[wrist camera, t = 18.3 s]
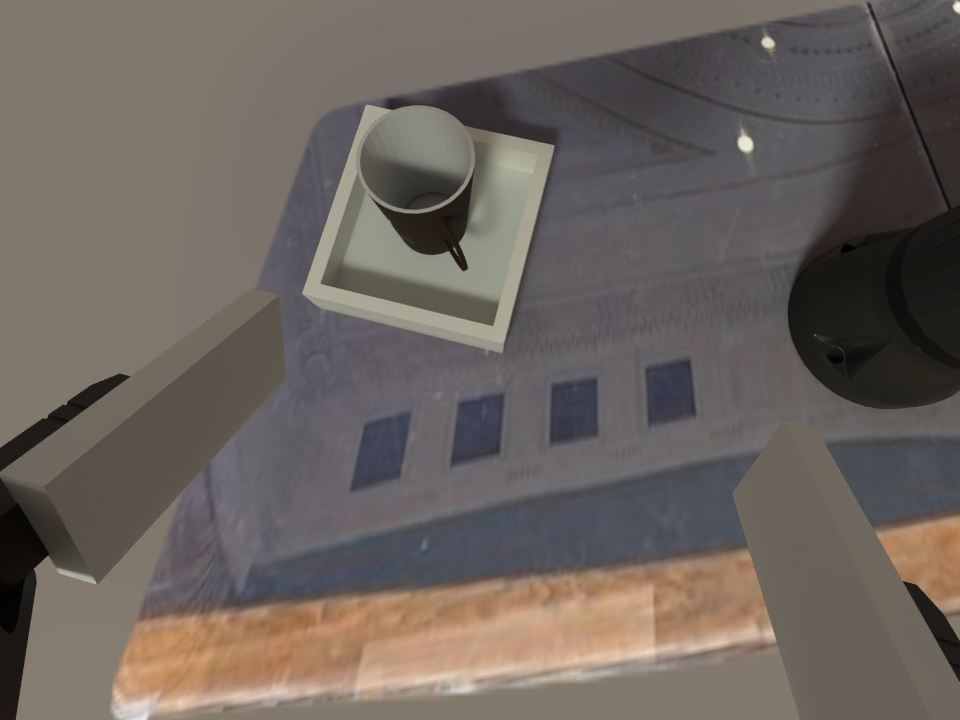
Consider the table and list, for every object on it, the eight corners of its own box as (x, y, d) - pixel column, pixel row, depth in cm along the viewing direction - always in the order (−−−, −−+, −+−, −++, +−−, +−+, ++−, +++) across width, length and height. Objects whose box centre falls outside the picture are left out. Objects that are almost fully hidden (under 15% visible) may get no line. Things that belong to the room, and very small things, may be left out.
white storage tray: (549, 171, 46) (554, 145, 42) (502, 353, 43) (503, 343, 39) (376, 133, 48) (366, 104, 44) (319, 307, 44) (302, 293, 41)
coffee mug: (387, 180, 46) (358, 106, 36) (478, 179, 45) (475, 104, 35) (383, 299, 43) (351, 254, 34) (479, 298, 43) (475, 253, 33)
